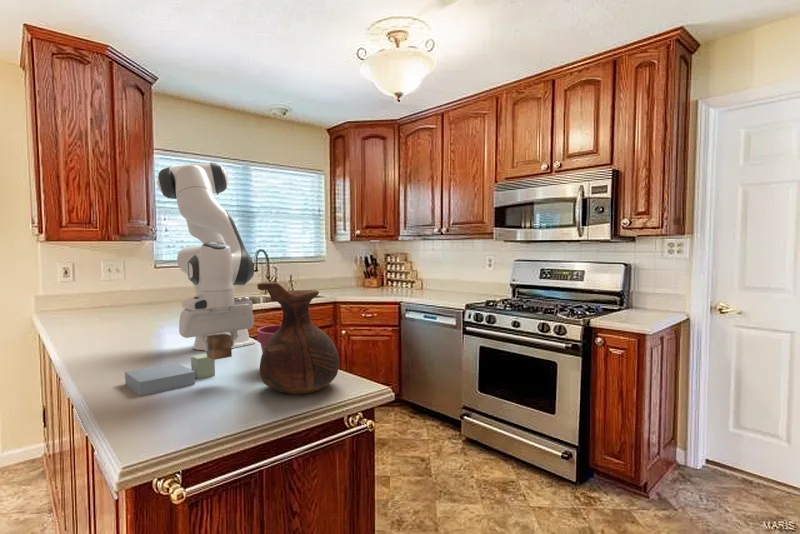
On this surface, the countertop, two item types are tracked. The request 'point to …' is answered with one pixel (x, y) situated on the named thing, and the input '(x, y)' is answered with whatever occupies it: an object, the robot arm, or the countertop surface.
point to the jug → (297, 346)
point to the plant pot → (266, 334)
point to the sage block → (202, 366)
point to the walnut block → (219, 346)
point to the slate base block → (159, 378)
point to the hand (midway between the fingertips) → (219, 348)
